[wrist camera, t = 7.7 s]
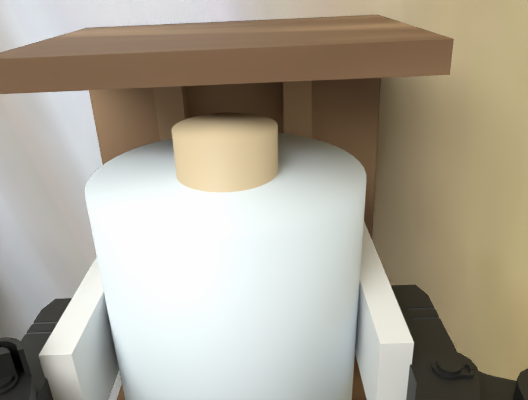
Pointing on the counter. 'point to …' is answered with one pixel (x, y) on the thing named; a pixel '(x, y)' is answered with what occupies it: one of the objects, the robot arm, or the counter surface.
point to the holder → (235, 80)
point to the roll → (231, 262)
